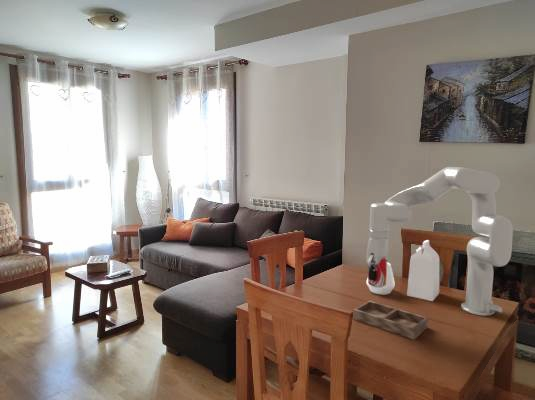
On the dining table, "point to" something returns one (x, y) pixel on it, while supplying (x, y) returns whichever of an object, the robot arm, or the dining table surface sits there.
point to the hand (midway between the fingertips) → (377, 277)
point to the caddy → (391, 319)
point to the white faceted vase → (389, 283)
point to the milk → (424, 273)
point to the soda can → (379, 274)
